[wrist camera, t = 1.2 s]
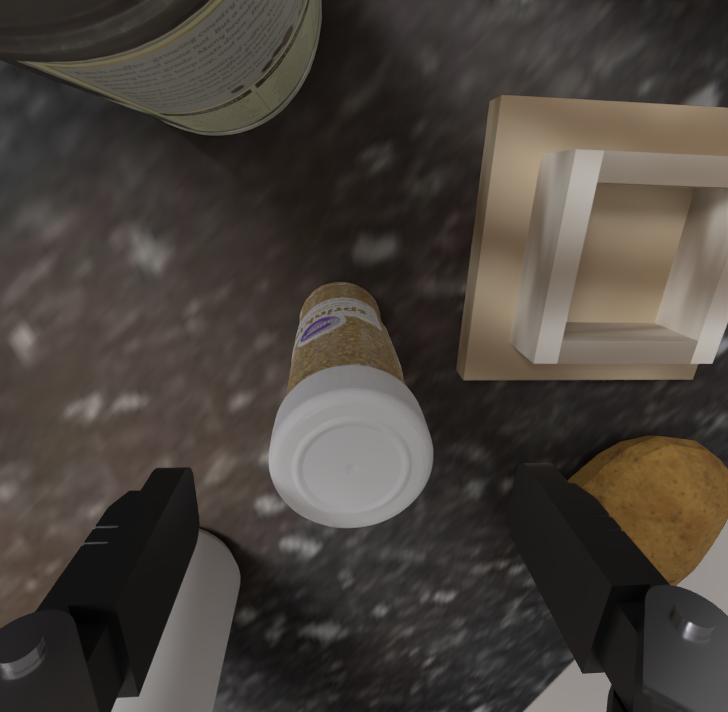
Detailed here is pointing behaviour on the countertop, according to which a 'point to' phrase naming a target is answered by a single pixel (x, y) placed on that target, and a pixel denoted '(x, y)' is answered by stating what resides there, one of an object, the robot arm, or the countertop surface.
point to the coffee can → (171, 54)
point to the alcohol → (192, 636)
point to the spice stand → (597, 242)
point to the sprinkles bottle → (347, 417)
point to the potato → (662, 498)
